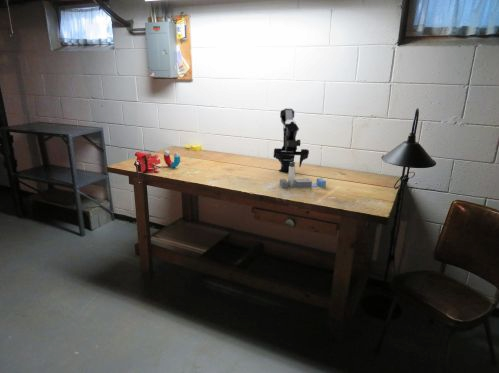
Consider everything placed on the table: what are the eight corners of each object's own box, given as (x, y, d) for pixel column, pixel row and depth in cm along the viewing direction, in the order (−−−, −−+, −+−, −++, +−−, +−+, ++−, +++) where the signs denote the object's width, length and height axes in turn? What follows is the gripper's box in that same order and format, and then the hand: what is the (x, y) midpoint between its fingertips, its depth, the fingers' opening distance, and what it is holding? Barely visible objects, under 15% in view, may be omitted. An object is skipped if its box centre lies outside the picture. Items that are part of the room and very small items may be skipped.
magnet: (180, 168, 222) (180, 152, 218) (177, 169, 219) (177, 153, 216) (167, 165, 228) (166, 149, 225) (164, 166, 225) (163, 150, 222)
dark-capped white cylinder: (289, 184, 193) (291, 161, 188) (294, 185, 191) (296, 162, 187) (286, 186, 190) (288, 162, 186) (292, 187, 188) (293, 163, 184)
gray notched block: (279, 186, 193) (279, 179, 191) (321, 184, 197) (322, 178, 196) (282, 189, 187) (282, 182, 186) (325, 188, 191) (326, 181, 190)
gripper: (274, 133, 190) (275, 158, 183) (309, 134, 190) (311, 159, 183) (273, 145, 200) (273, 169, 193) (306, 146, 200) (307, 170, 193)
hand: (291, 166), depth 190 cm, fingers open, 9 cm apart
